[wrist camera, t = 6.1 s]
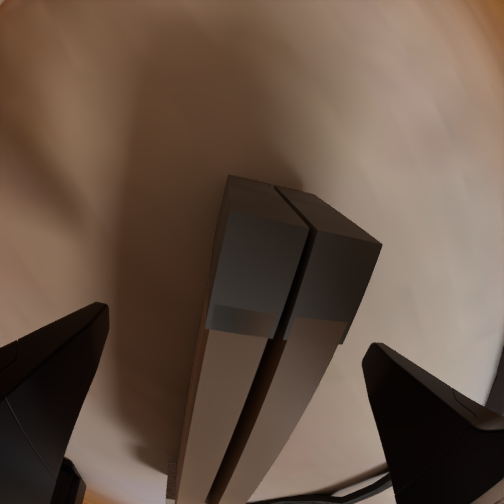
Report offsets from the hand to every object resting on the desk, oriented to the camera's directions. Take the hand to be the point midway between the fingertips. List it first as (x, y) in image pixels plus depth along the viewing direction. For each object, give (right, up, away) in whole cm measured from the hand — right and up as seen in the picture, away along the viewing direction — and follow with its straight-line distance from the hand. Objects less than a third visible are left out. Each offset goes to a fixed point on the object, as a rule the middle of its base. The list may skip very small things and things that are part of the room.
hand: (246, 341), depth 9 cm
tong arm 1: (0, -4, +4) cm, 5 cm away
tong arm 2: (-2, -3, +4) cm, 5 cm away
